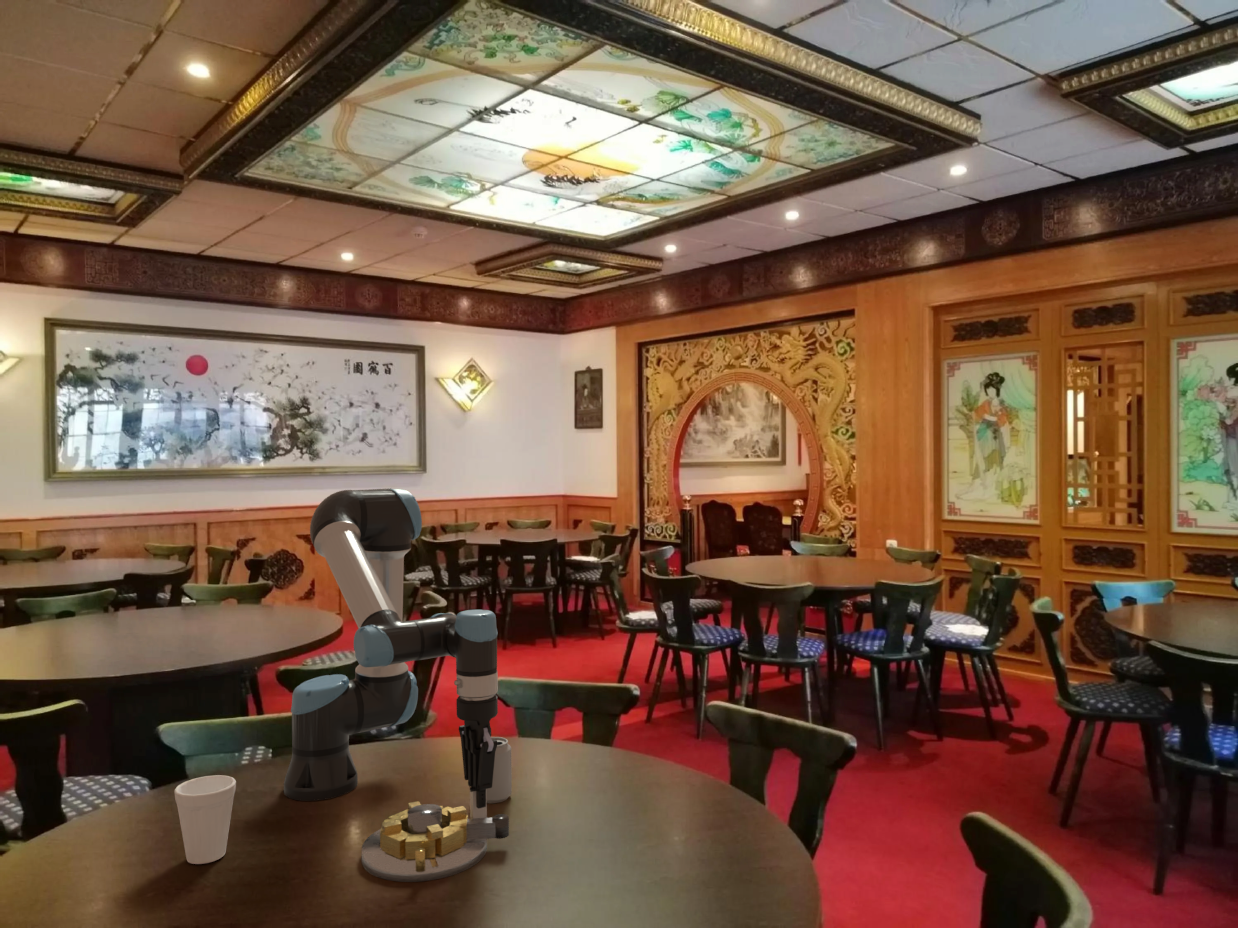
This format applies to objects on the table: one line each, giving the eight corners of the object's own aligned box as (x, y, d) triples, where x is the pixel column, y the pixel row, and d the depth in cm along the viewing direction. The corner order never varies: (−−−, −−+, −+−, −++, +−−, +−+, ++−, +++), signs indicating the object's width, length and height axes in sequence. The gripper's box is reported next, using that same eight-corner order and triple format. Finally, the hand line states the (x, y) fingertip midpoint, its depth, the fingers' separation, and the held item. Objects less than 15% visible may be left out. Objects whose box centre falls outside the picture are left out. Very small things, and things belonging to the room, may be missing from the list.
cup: (205, 874, 147) (204, 798, 147) (161, 865, 150) (160, 791, 150) (249, 850, 156) (248, 778, 156) (207, 842, 160) (206, 772, 160)
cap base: (343, 847, 157) (343, 806, 157) (454, 816, 170) (453, 779, 170) (390, 894, 139) (389, 848, 139) (509, 856, 152) (508, 814, 152)
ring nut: (375, 860, 146) (375, 836, 146) (388, 824, 161) (388, 802, 161) (508, 852, 149) (508, 828, 149) (509, 817, 164) (509, 795, 164)
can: (504, 805, 175) (504, 747, 175) (470, 803, 177) (469, 745, 177) (516, 792, 183) (515, 735, 183) (483, 789, 184) (482, 733, 184)
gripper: (445, 690, 162) (446, 815, 162) (471, 706, 151) (472, 840, 151) (482, 684, 166) (483, 806, 166) (510, 699, 155) (511, 830, 155)
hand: (478, 822), depth 159 cm, fingers closed
